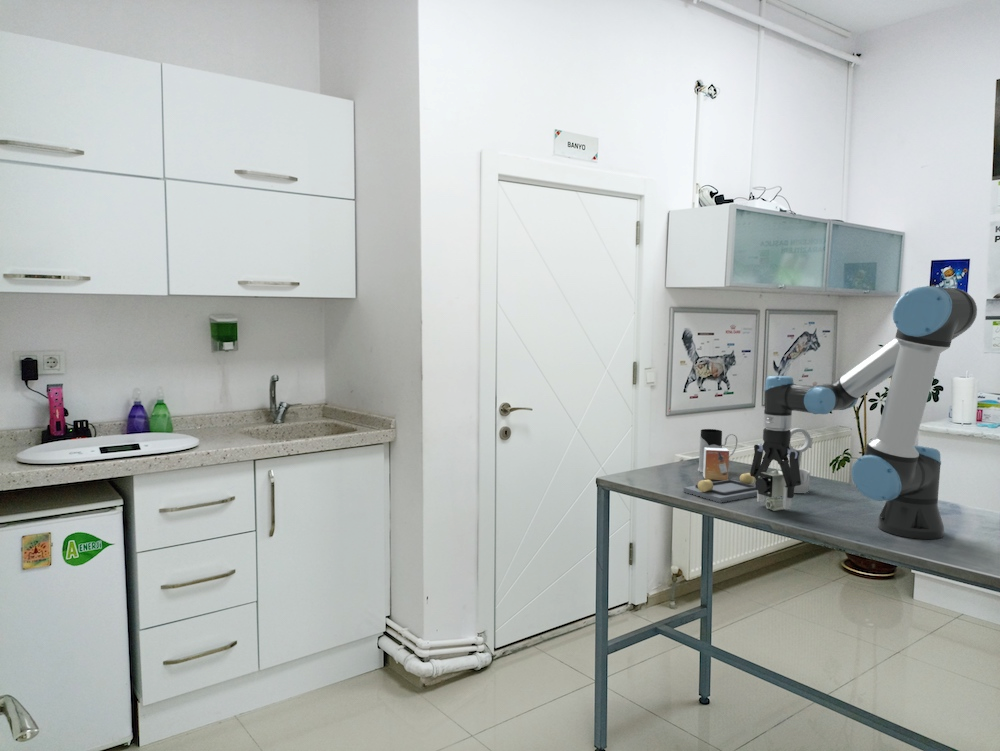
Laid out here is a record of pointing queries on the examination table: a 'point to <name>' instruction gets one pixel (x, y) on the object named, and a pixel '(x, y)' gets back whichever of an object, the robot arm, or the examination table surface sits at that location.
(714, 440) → the glass holder
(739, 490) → the mounting plate
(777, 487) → the pneumatic valve
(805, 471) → the engine component
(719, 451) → the small box
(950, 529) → the examination table surface
